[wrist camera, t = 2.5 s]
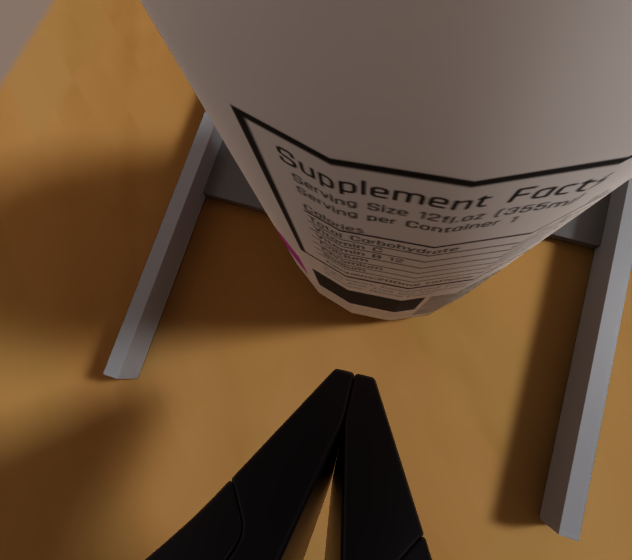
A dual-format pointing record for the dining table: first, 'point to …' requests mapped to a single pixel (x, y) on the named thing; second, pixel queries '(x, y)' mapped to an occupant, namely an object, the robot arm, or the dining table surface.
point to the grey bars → (585, 229)
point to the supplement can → (412, 129)
